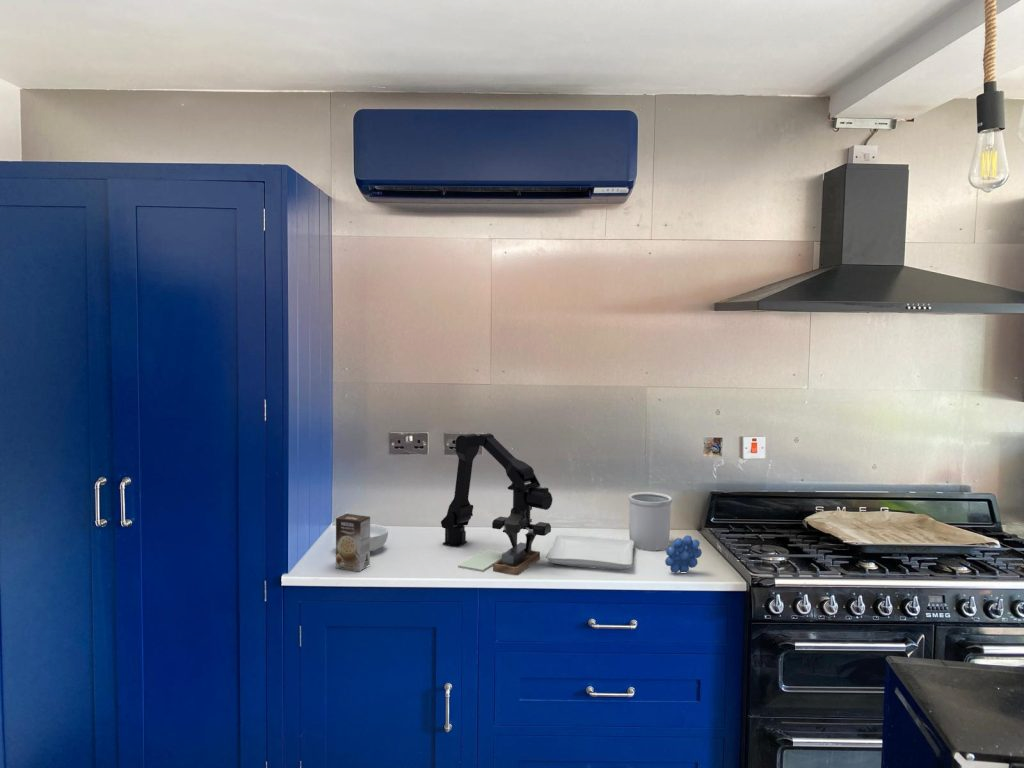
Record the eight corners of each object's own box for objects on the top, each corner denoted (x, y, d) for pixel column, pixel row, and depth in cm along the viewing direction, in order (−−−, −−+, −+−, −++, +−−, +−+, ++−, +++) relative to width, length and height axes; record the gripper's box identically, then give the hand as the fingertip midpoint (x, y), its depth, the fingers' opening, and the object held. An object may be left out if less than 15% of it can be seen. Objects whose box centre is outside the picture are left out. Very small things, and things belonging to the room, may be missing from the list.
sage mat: (458, 567, 210) (458, 565, 210) (484, 551, 226) (484, 549, 226) (483, 571, 206) (483, 569, 206) (508, 555, 222) (508, 553, 222)
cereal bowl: (341, 561, 215) (341, 539, 215) (333, 546, 230) (332, 526, 230) (393, 554, 222) (393, 533, 222) (381, 541, 237) (381, 521, 237)
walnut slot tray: (492, 571, 207) (493, 564, 207) (517, 554, 223) (517, 548, 223) (516, 575, 203) (516, 568, 203) (539, 558, 220) (540, 551, 220)
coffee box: (334, 568, 208) (334, 518, 207) (346, 562, 214) (345, 513, 213) (360, 572, 205) (360, 520, 204) (371, 565, 211) (371, 515, 210)
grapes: (695, 568, 212) (696, 531, 211) (704, 575, 205) (705, 537, 204) (660, 569, 210) (661, 531, 210) (667, 576, 204) (668, 538, 203)
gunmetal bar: (501, 563, 208) (501, 554, 207) (520, 551, 220) (520, 542, 220) (513, 565, 206) (513, 556, 206) (531, 553, 218) (531, 544, 218)
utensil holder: (668, 553, 226) (669, 503, 225) (624, 549, 231) (625, 499, 230) (672, 541, 240) (673, 493, 239) (631, 537, 245) (632, 490, 244)
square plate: (632, 575, 205) (632, 563, 205) (544, 568, 211) (544, 556, 211) (634, 549, 232) (634, 538, 232) (556, 543, 237) (556, 533, 237)
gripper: (484, 506, 212) (484, 554, 213) (538, 513, 204) (537, 563, 205) (500, 499, 222) (499, 545, 223) (552, 505, 214) (551, 553, 215)
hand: (521, 551), depth 216 cm, fingers closed on gunmetal bar, 4 cm apart
